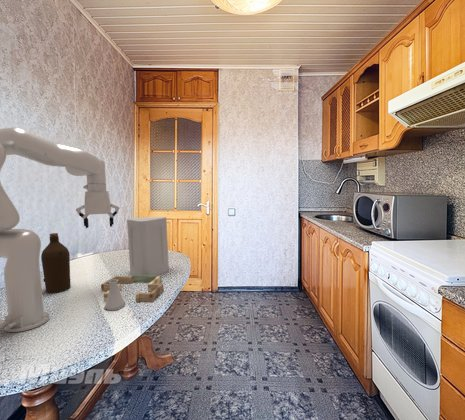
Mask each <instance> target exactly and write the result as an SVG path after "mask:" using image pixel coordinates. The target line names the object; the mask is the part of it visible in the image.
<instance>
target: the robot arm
mask: <svg viewBox="0 0 465 420" xmlns="http://www.w3.org/2000/svg"><path fill="white" fill-rule="evenodd" d="M12 155H13V156H14V155H16V156H20V157H22V158H25V159H28V160H31V161H34V162H37V163H40V164H42V165H45V166H51V167H58V168H59V167H62V168H63V167H65V171H66V172H67V173H68V174H69V175H72V176H75V177H83V176H84V177H86V185H83V186H82V187H83V189H84V190H86V191H84V201H83V202H84V204H83V205H81V206H79V207H78V208H76V209H75V212H76V213H77V214H78V216H80V217H81V218H82V219H83V226H84V227H85V229H88V228H90V227H89V218H88V216H90V215H104V214H105V215H106V214H107V215H108V216H109V219H108V220H109V227H110V228H112V227H113V225H114V223H115V222H114V217H116V215H117V214H118V212H119V210H120V207H119V206H118V205H115V204H112V203H111V198H110V193H109V191H108V190H107V177H106V175H107V174H106V161H104V160H103V159H101V158H98V157H97V156H96V155H94V154H92V153H90V152H88V151H85V150H82V149H79V148H76V147H71V146H67V145H64V144H59V143H55V142H53V141H51V140H49V139H46V138H44V137H42V136H40V135H37V134H35V133H33V132H31V131H28V130H26V129H23V128H20V127H14V126H13V127H6V128H0V172H1V171H2V169H3V166H4V164H5V162H6V159H7V156H12ZM112 208H113V209H114V212H112ZM83 209H84V213H83V212H82V210H83ZM19 223H20V214H19V211H18V209H17V208H16V207H15V205H14V203H13V201H12V200H11V198H10V197H9V196H8V193H7V192H6V189H4V187H3V185H2V183H1V181H0V258H3V259H5V258H6V263H5V266H4V270H3V279H4V281H3V282H4V287H5V288H4V289H5V296H6V297H5V298H6V307H7V315H6V316H4V318H5V319H4V320H3V322H1V323H0V331H2V330H3V331H4V332H7V333H19V332H24V331H29V330H32V329H35V328H37V327H40V326H42V325H43V324H46V323H47V322H48V321H49V320H50V313H49V312H48V311H47V312H46V311H44V301H43V292H42V291H43V290H42V289H43V288H42V279H41V277H42V276H41V271H40V270H41V269H40V258H41V250H42V249H41V248H42V242H41V241H42V240H41V238H40V237H39V235H38V233H36V232H34V231H33V230H29V229H24V228H16V226H18V224H19Z"/></svg>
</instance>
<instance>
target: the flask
mask: <svg viewBox="0 0 465 420" xmlns="http://www.w3.org/2000/svg"><path fill="white" fill-rule="evenodd" d="M109 280H110V279H109ZM109 284H110V289H109V294H108V298H107V301H105V305H104V308H103V309H104V310H106V309H107V311H117V310H116V309H118V310H120V309H122V308H124V307H125V306H124V305H126V301H125V299H124V298H123V296H122V293H121V292H120V291H119V288H118V284H119V283H118V280H116V279H115V280H110V281H109ZM119 308H120V309H119Z"/></svg>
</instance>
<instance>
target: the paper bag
mask: <svg viewBox="0 0 465 420" xmlns="http://www.w3.org/2000/svg"><path fill="white" fill-rule="evenodd" d="M167 224H168V223H167V216H156V217H155V216H153V217H151V216H150V217H134V218H133V217H131V218H127V219H126V225H127V226H126V228H127V239H128V254H129V255H128V256H129V270H130V275H162V274H165V273H167V272H169V270H170V265H169V247H168V246H169V244H168V242H169V241H168V229H167V227H168V226H167Z"/></svg>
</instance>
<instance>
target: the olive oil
mask: <svg viewBox="0 0 465 420" xmlns="http://www.w3.org/2000/svg"><path fill="white" fill-rule="evenodd" d="M59 237H60V236H59V233H58V232H52V233H49V243H48V245H46V246H45V247H44V249H43V250H42V251H41V254H40V258H41V259H40V260H41V266H42V267H41V268H42V272H43V283H44V287H45V292H46V293H48V294H57V293H62V292H65V291H67V290H69V289H70V288H71V287H72V286H71V264H70V263H71V262H70V259H71V258H70V250H69V249H68V247H67V246H65V245H64V244H62V243H61V242H60V239H59Z"/></svg>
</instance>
